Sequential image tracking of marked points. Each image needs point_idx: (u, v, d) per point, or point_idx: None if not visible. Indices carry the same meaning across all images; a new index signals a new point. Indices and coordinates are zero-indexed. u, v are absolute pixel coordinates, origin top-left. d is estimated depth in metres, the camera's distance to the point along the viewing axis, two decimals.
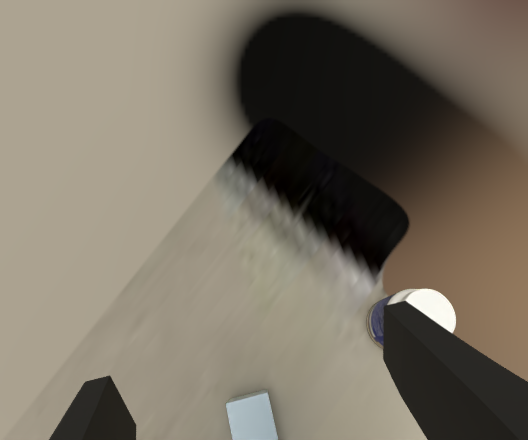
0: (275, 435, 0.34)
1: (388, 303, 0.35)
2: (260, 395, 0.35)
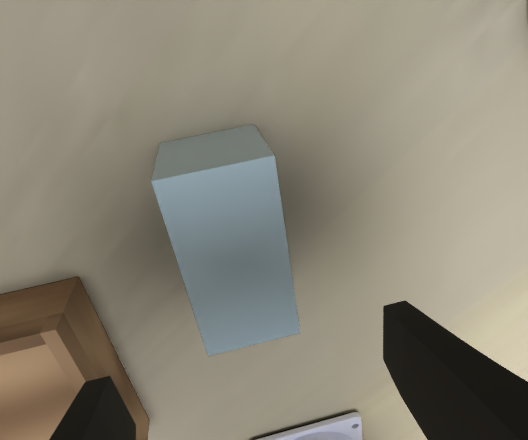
0: (283, 248, 0.14)
1: None
2: (253, 162, 0.12)
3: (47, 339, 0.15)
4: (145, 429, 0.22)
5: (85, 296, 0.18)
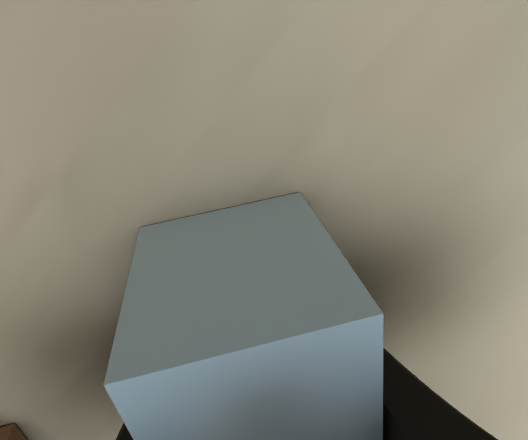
0: None
1: None
2: (336, 329, 0.05)
3: None
4: None
5: None
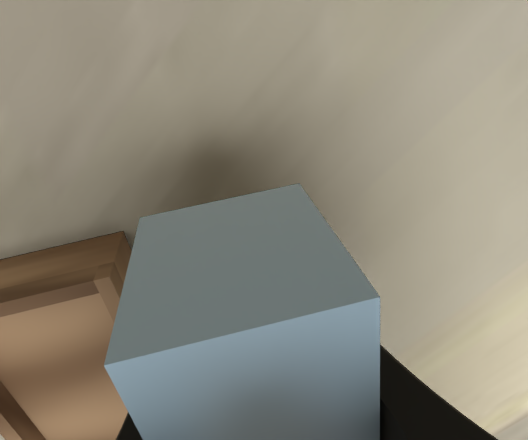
0: None
1: None
2: (334, 312, 0.05)
3: (100, 287, 0.14)
4: None
5: (130, 251, 0.17)
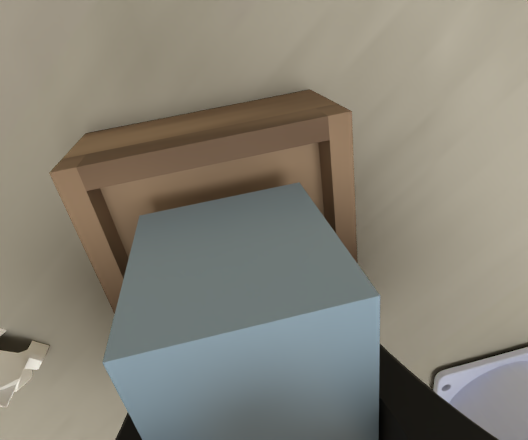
0: None
1: None
2: (333, 311, 0.05)
3: (334, 130, 0.09)
4: None
5: None
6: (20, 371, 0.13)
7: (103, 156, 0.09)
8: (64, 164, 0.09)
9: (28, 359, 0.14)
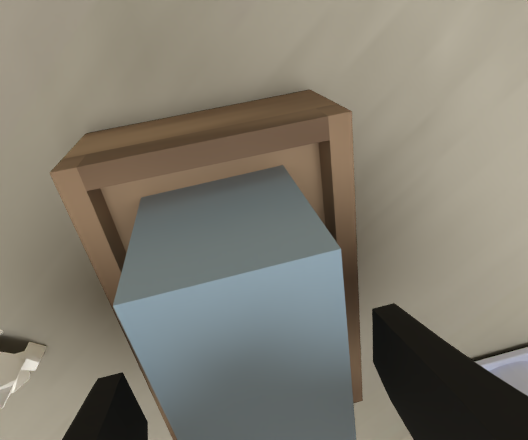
0: (345, 383, 0.08)
1: None
2: (302, 262, 0.07)
3: (334, 130, 0.09)
4: None
5: None
6: (17, 372, 0.13)
7: (103, 156, 0.09)
8: (64, 164, 0.09)
9: (25, 360, 0.14)
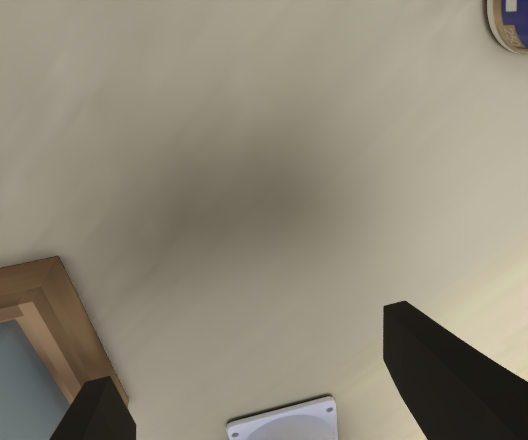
0: None
1: None
2: None
3: (25, 311, 0.16)
4: None
5: (65, 274, 0.19)
6: None
7: None
8: None
9: None
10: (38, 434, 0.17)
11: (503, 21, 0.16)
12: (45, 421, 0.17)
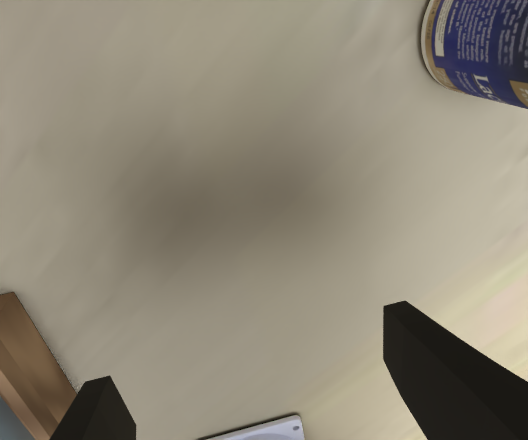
0: None
1: None
2: None
3: None
4: None
5: (21, 309, 0.19)
6: None
7: None
8: None
9: None
10: None
11: (435, 64, 0.16)
12: None
